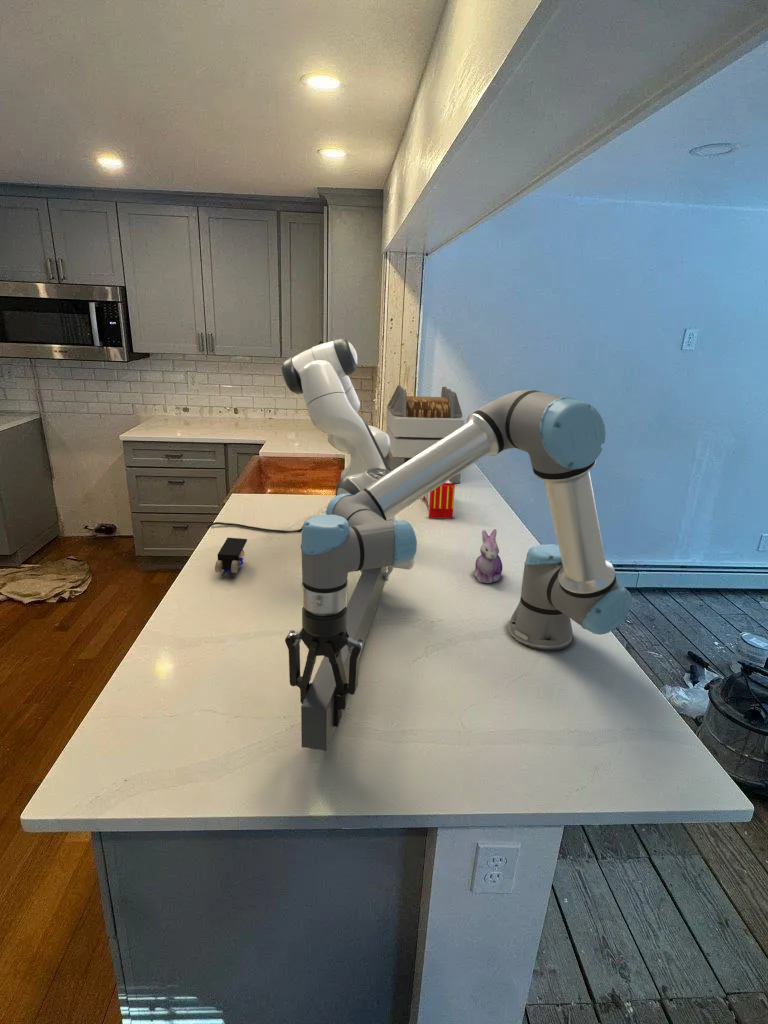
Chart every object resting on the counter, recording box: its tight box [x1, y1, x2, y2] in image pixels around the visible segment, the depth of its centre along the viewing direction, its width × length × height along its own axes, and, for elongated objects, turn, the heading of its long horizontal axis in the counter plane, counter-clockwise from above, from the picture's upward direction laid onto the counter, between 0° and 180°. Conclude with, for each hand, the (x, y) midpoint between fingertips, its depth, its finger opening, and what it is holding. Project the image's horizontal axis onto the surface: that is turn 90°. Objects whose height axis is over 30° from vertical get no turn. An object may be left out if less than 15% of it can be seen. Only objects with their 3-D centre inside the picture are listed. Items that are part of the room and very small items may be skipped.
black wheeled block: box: [214, 537, 248, 578], centre depth 166 cm, size 7×8×15 cm
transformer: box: [385, 384, 466, 484], centre depth 268 cm, size 34×33×41 cm
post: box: [300, 567, 388, 752], centre depth 127 cm, size 67×4×8 cm, turn 171°
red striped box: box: [422, 480, 456, 519], centre depth 228 cm, size 12×13×30 cm
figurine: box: [474, 528, 503, 584], centre depth 167 cm, size 9×10×15 cm
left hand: (375, 578), depth 152 cm, fingers closed on post, 4 cm apart
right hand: (323, 719), depth 103 cm, fingers closed on post, 4 cm apart
